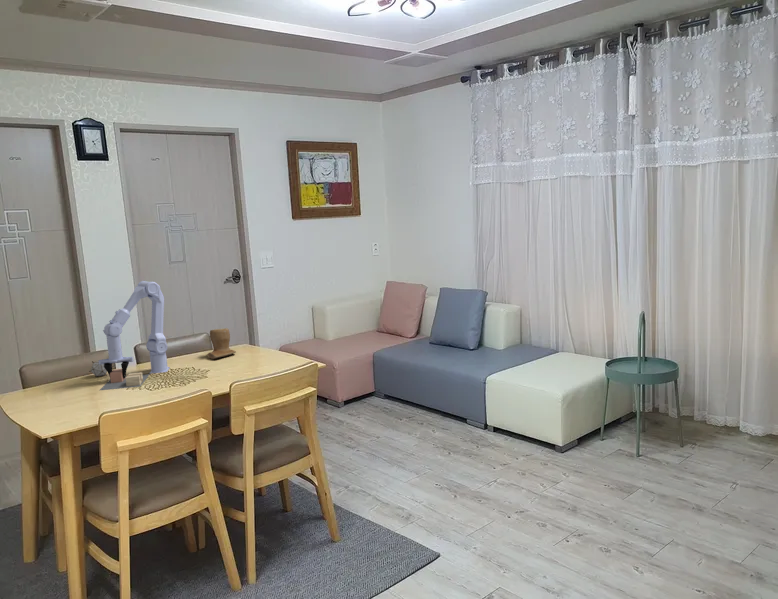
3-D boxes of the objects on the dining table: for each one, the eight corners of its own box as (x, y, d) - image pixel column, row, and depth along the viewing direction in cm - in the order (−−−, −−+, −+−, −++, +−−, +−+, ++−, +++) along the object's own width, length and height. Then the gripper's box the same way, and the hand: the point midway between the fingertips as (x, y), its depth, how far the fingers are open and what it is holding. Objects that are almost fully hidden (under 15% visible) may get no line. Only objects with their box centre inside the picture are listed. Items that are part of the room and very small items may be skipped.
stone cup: (225, 352, 330) (222, 325, 328) (239, 354, 323) (236, 326, 321) (201, 358, 318) (198, 330, 316) (215, 360, 311) (213, 332, 309)
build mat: (111, 378, 286) (111, 377, 286) (150, 374, 289) (149, 374, 289) (99, 391, 264) (99, 390, 264) (140, 387, 268) (140, 386, 267)
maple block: (130, 382, 276) (129, 373, 275) (143, 380, 277) (142, 372, 276) (126, 386, 269) (125, 377, 268) (139, 385, 270) (139, 376, 269)
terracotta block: (114, 379, 283) (113, 369, 282) (125, 377, 284) (124, 368, 283) (110, 382, 276) (109, 373, 275) (122, 381, 277) (121, 372, 276)
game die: (96, 384, 290) (81, 370, 287) (108, 374, 297) (93, 359, 294) (106, 377, 285) (90, 362, 283) (117, 367, 292) (102, 352, 290)
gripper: (95, 352, 272) (98, 382, 274) (129, 349, 275) (133, 378, 277) (99, 349, 279) (103, 378, 281) (133, 346, 282) (136, 375, 284)
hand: (118, 378), depth 280 cm, fingers closed on terracotta block, 5 cm apart
